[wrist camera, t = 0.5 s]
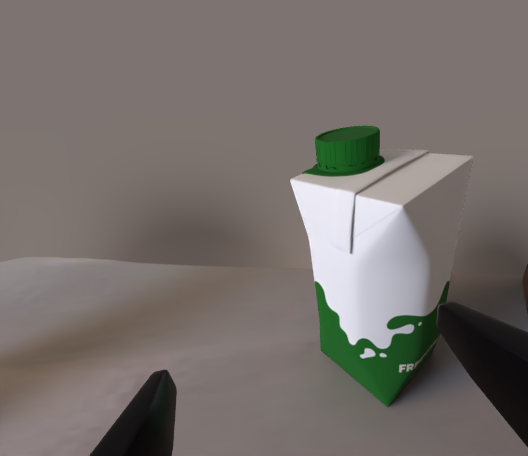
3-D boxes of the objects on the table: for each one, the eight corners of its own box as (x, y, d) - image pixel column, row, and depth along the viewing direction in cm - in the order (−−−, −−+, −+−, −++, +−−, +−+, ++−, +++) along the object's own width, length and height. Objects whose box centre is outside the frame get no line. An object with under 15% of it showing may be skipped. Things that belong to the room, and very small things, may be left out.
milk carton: (362, 302, 30) (357, 118, 21) (450, 353, 23) (503, 113, 14) (307, 350, 26) (271, 150, 17) (393, 428, 20) (415, 166, 10)
